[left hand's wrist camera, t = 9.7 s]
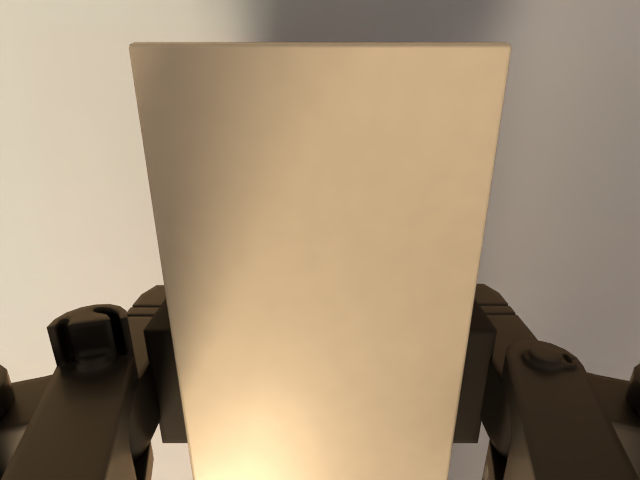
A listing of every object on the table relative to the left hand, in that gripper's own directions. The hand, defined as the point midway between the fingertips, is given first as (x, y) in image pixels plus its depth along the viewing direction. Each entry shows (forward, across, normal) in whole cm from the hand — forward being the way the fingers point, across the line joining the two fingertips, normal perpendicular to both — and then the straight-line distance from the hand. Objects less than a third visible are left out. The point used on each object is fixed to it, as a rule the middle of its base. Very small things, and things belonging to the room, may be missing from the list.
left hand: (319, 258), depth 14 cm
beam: (+1, 0, -25) cm, 25 cm away
